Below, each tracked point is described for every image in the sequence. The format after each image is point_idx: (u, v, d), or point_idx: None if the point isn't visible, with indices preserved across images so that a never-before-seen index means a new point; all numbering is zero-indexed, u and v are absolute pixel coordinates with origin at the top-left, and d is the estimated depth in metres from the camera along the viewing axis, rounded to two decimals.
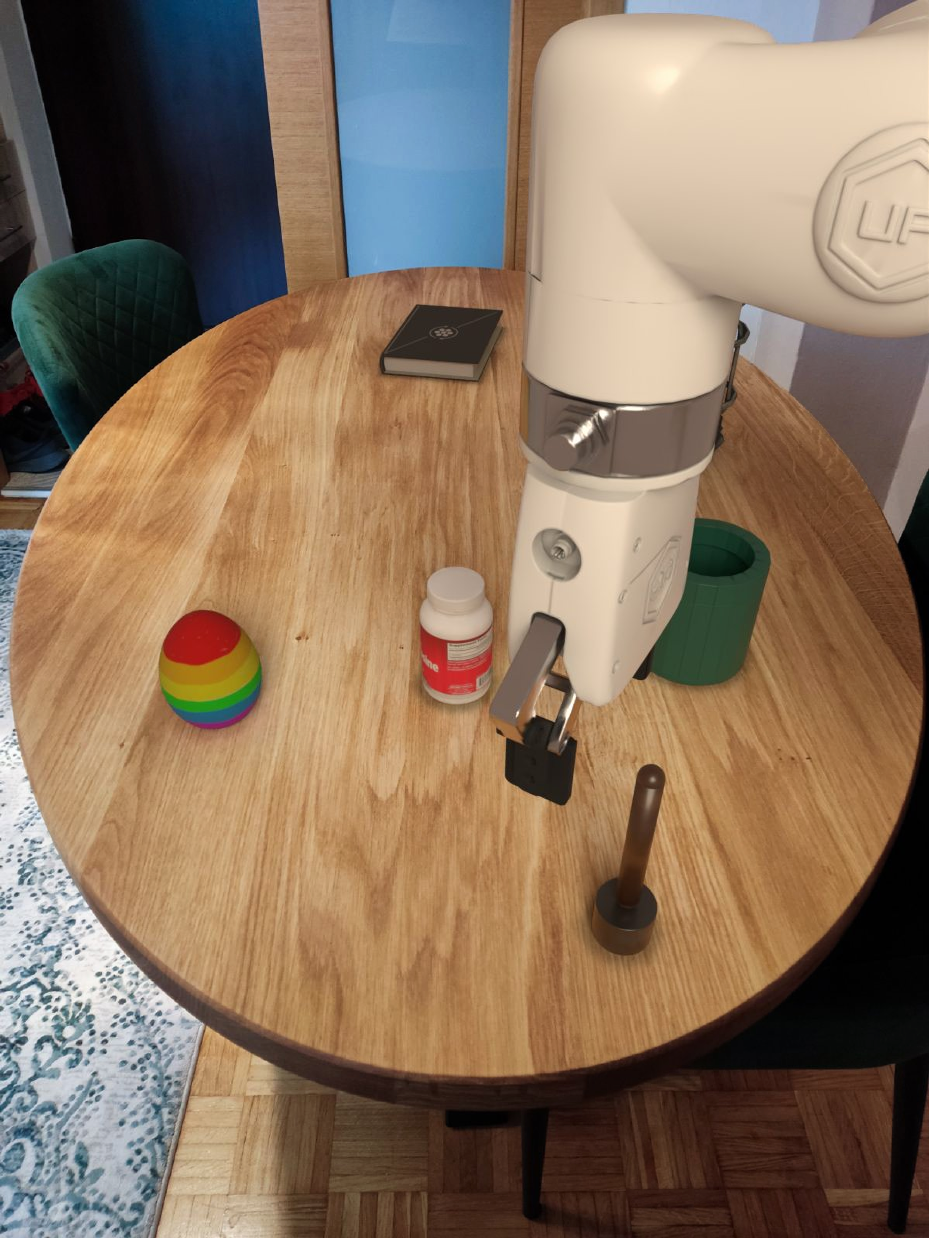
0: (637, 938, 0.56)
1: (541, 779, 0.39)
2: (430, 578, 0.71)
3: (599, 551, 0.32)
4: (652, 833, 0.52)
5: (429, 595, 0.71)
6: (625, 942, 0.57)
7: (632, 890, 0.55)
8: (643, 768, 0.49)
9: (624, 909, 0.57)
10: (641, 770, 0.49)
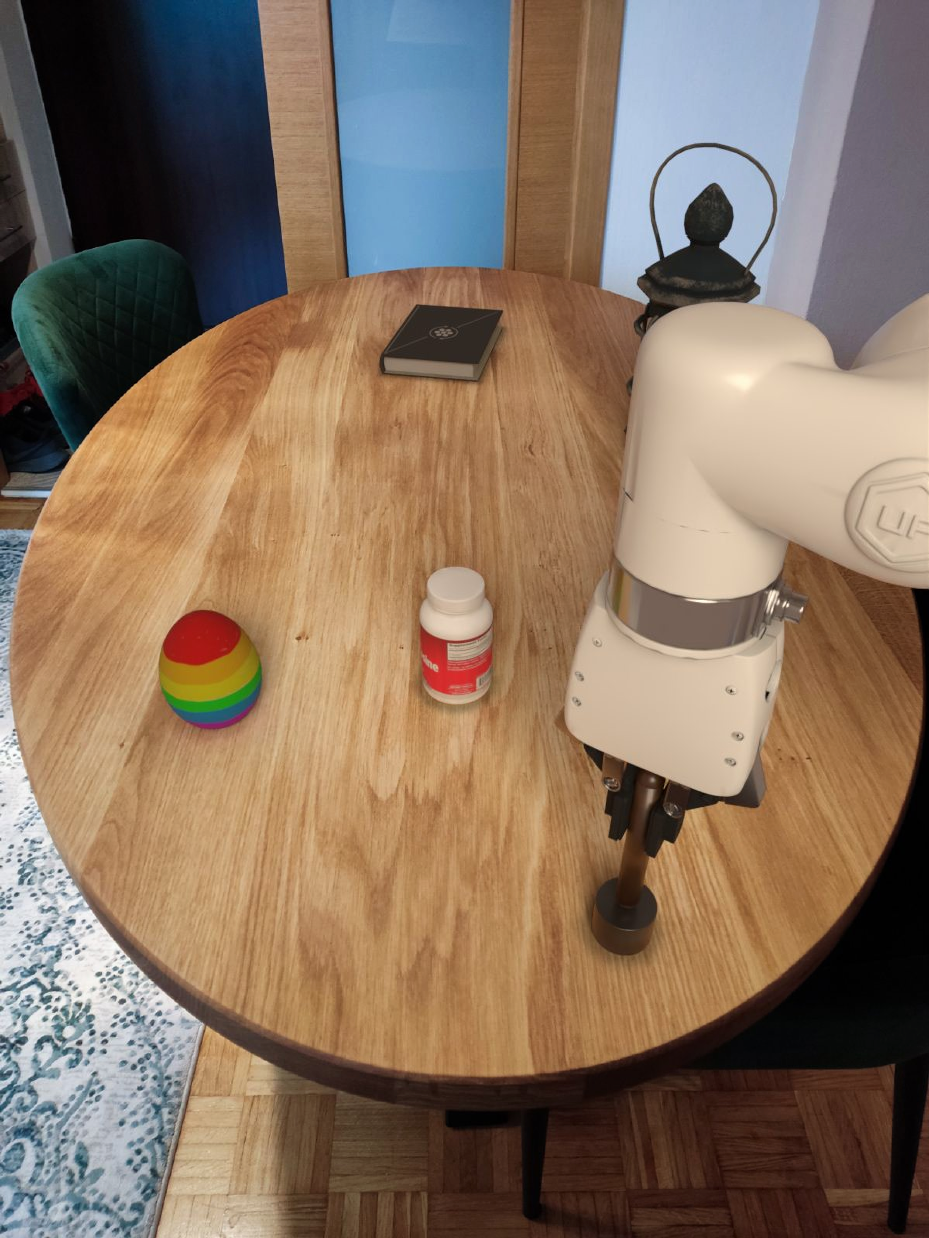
0: (637, 938, 0.56)
1: (683, 817, 0.51)
2: (430, 578, 0.71)
3: None
4: None
5: (429, 595, 0.71)
6: (625, 942, 0.57)
7: (632, 890, 0.55)
8: None
9: (624, 909, 0.57)
10: (641, 770, 0.49)
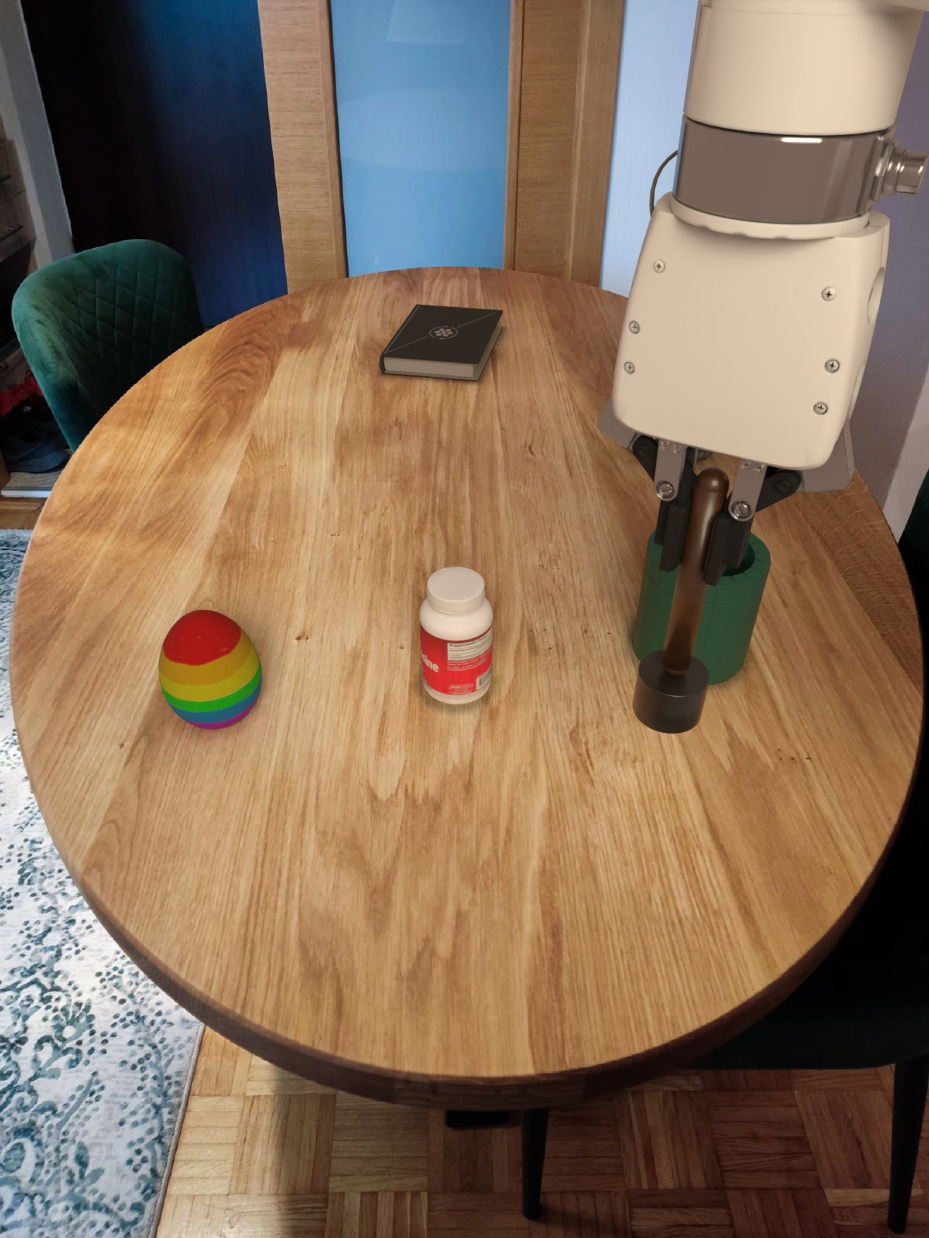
0: (688, 708, 0.49)
1: (748, 537, 0.44)
2: (430, 578, 0.71)
3: None
4: None
5: (429, 595, 0.71)
6: (674, 714, 0.49)
7: (683, 647, 0.48)
8: (703, 471, 0.42)
9: (672, 677, 0.49)
10: (701, 473, 0.42)
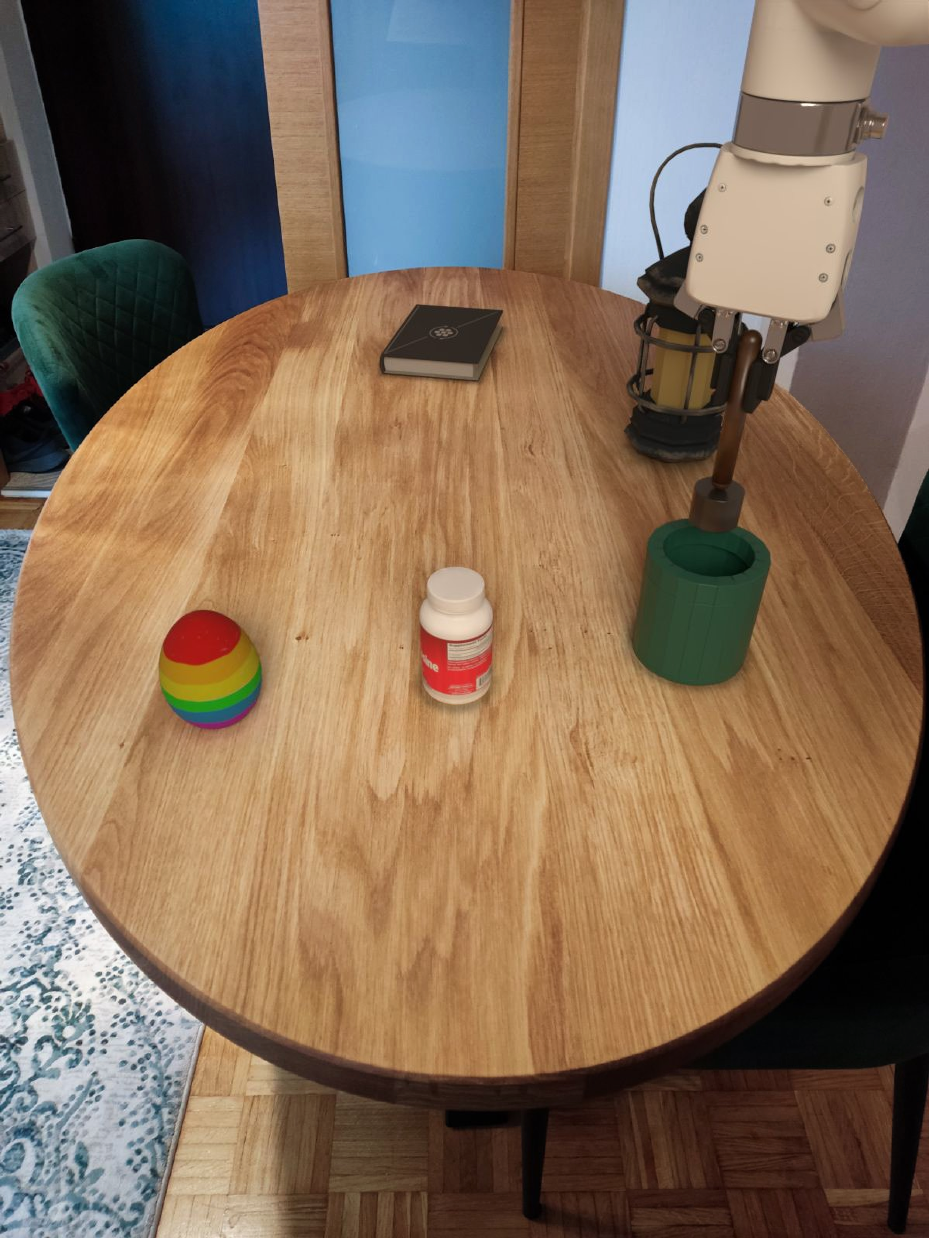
0: (729, 512, 0.70)
1: (774, 380, 0.64)
2: (430, 578, 0.71)
3: (864, 188, 0.56)
4: None
5: (429, 595, 0.71)
6: (719, 516, 0.70)
7: (727, 465, 0.69)
8: (745, 331, 0.63)
9: (718, 491, 0.70)
10: (743, 333, 0.63)
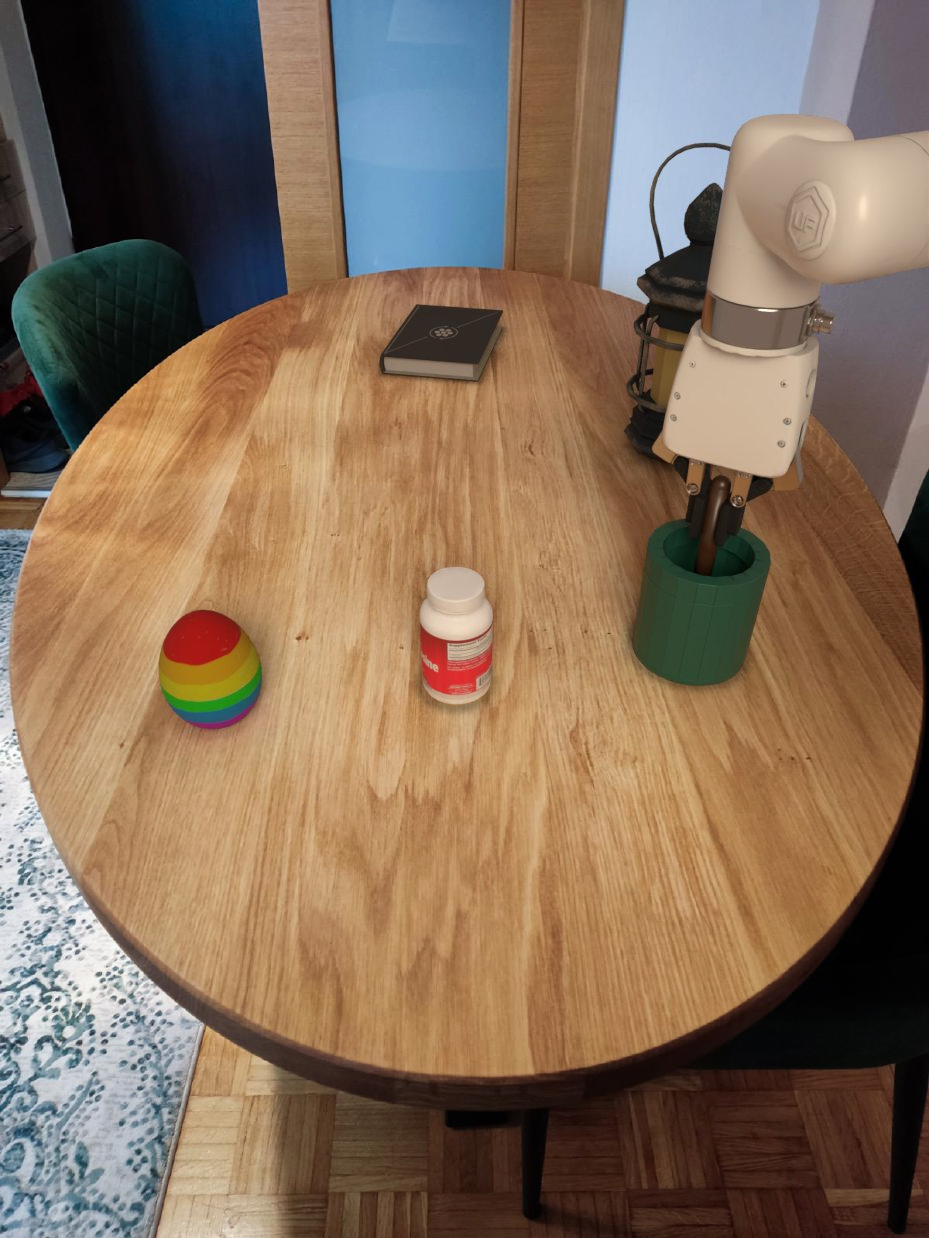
0: None
1: (742, 517, 0.72)
2: (430, 578, 0.71)
3: None
4: None
5: (429, 595, 0.71)
6: None
7: None
8: (715, 477, 0.70)
9: None
10: (714, 478, 0.70)
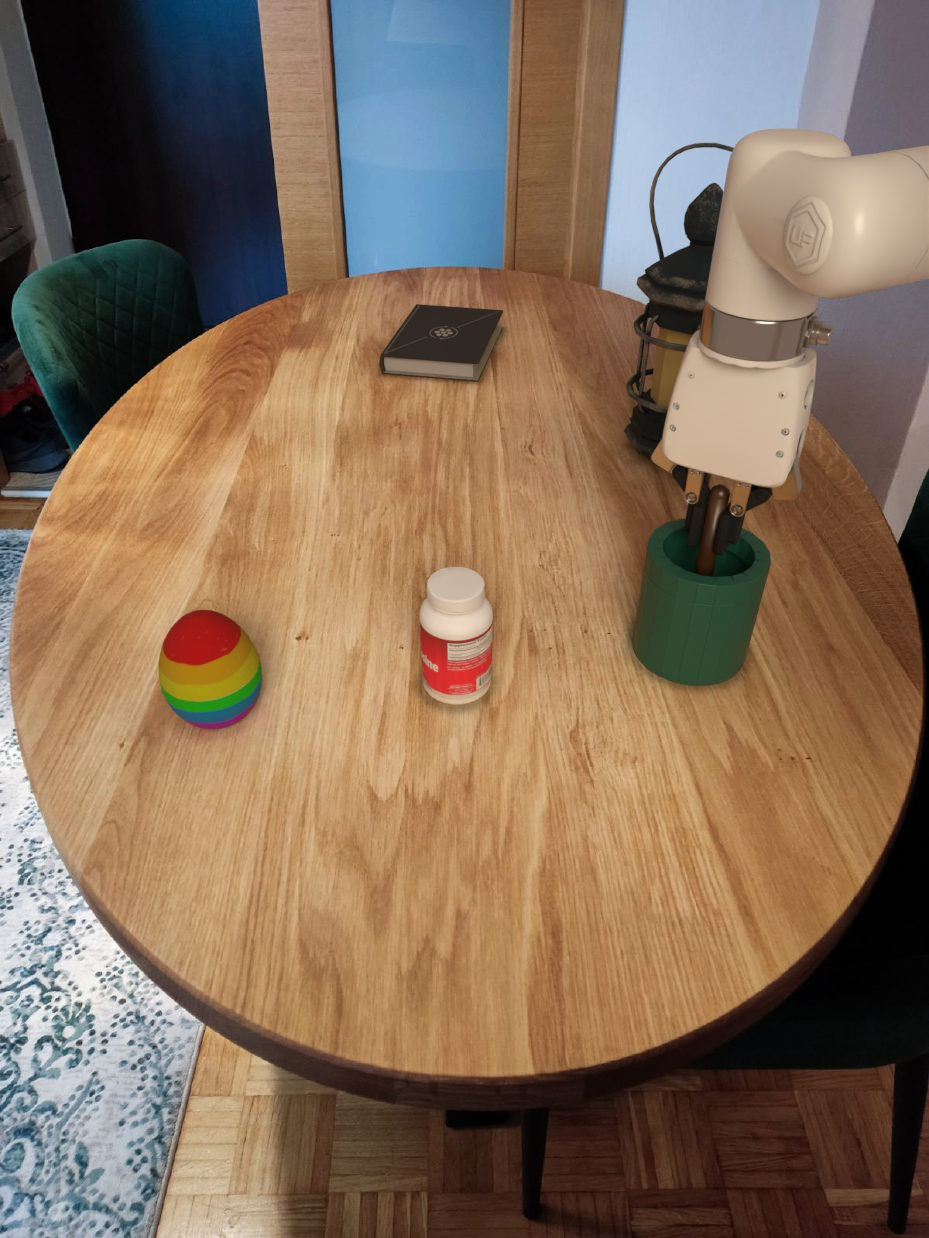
0: None
1: (741, 526, 0.72)
2: (430, 578, 0.71)
3: None
4: None
5: (429, 595, 0.71)
6: None
7: None
8: (714, 486, 0.71)
9: None
10: (713, 487, 0.71)
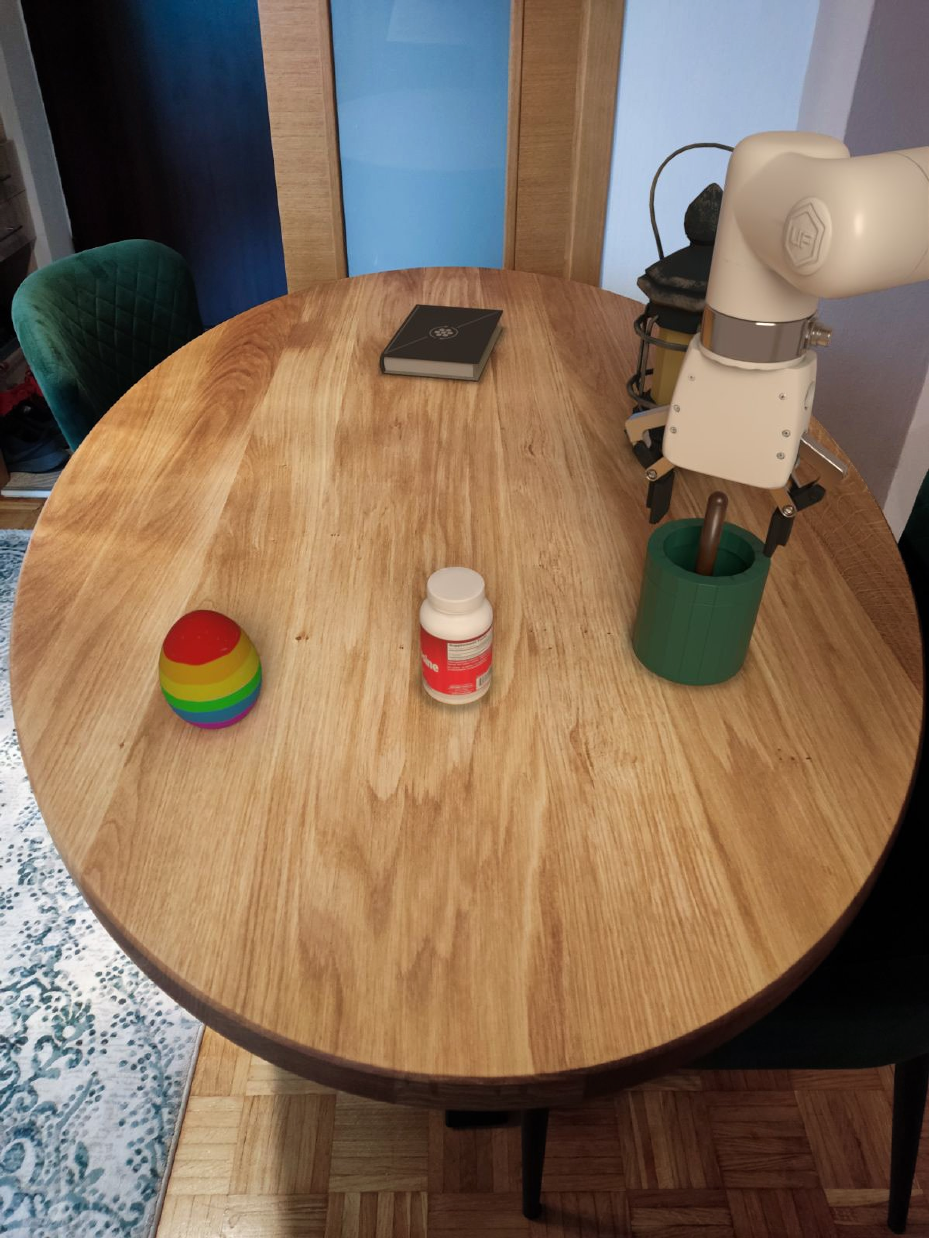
0: None
1: (791, 527, 0.70)
2: (430, 578, 0.71)
3: None
4: (717, 548, 0.74)
5: (429, 595, 0.71)
6: None
7: None
8: (713, 493, 0.71)
9: None
10: (711, 494, 0.71)
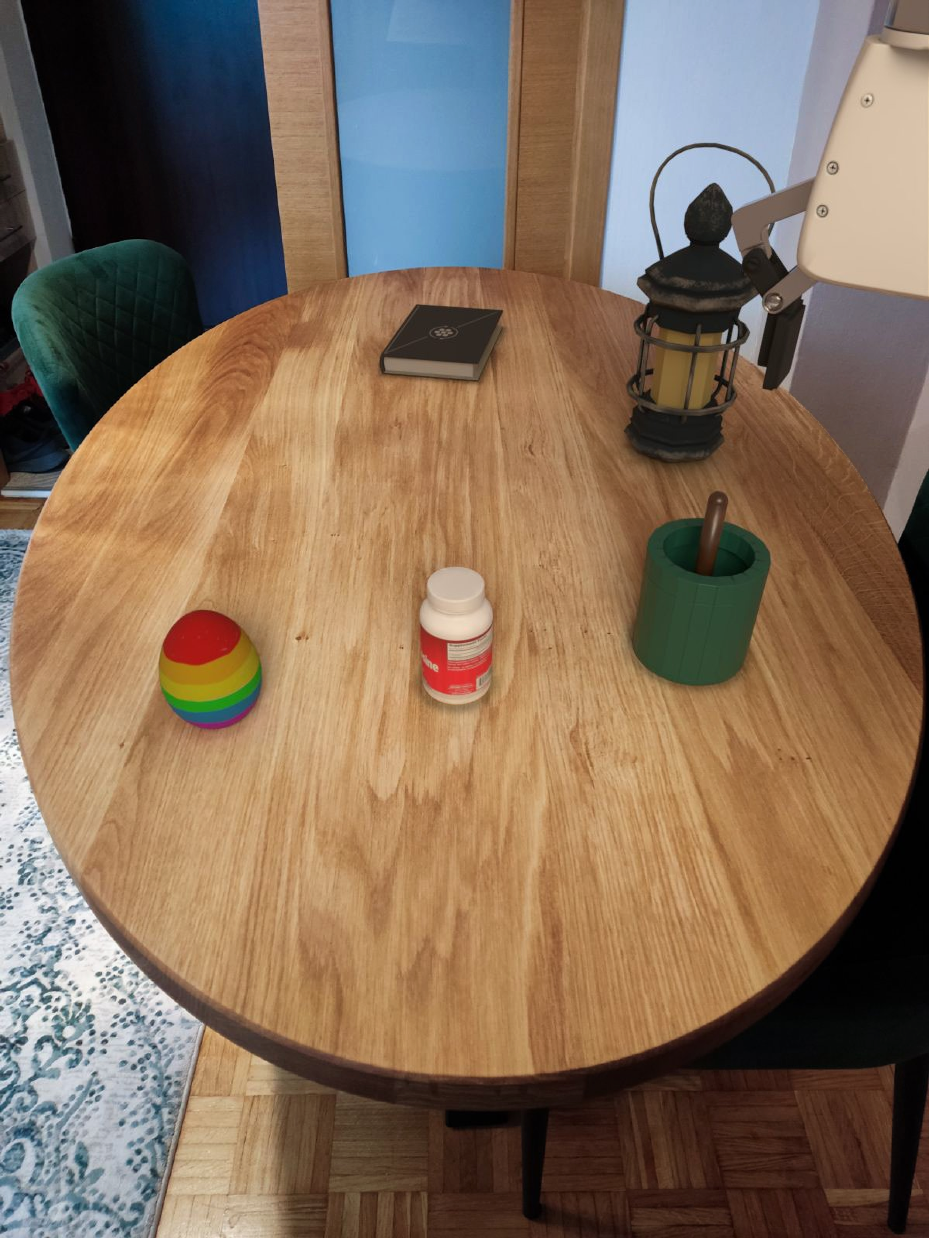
0: None
1: None
2: (430, 578, 0.71)
3: None
4: (717, 548, 0.74)
5: (429, 595, 0.71)
6: None
7: None
8: (713, 493, 0.71)
9: None
10: (711, 494, 0.71)
